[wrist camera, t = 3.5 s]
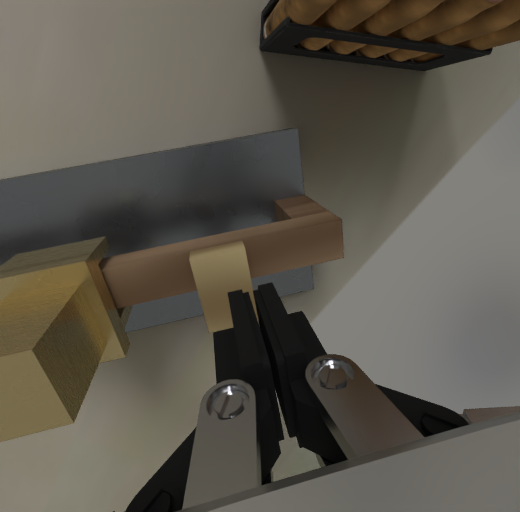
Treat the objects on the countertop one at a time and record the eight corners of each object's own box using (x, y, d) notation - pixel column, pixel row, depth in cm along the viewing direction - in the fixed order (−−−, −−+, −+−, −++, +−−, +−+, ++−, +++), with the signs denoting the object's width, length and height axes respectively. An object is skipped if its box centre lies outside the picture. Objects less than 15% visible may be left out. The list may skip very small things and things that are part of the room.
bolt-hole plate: (-256, 225, 17) (-290, 232, 15) (292, 127, 20) (298, 128, 18) (-122, 379, 21) (-140, 394, 20) (308, 281, 24) (314, 289, 23)
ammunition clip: (434, 36, 19) (748, -82, 8) (426, 71, 20) (705, 5, 9) (261, 10, 17) (371, -192, 6) (259, 50, 18) (354, -68, 7)
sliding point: (51, 229, 18) (-127, 355, 8) (122, 215, 18) (36, 319, 9) (85, 305, 20) (-24, 477, 10) (148, 291, 20) (103, 444, 11)
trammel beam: (-225, 300, 17) (-464, 399, 11) (304, 194, 20) (351, 225, 14) (-171, 358, 19) (-353, 473, 13) (310, 252, 22) (354, 303, 16)
